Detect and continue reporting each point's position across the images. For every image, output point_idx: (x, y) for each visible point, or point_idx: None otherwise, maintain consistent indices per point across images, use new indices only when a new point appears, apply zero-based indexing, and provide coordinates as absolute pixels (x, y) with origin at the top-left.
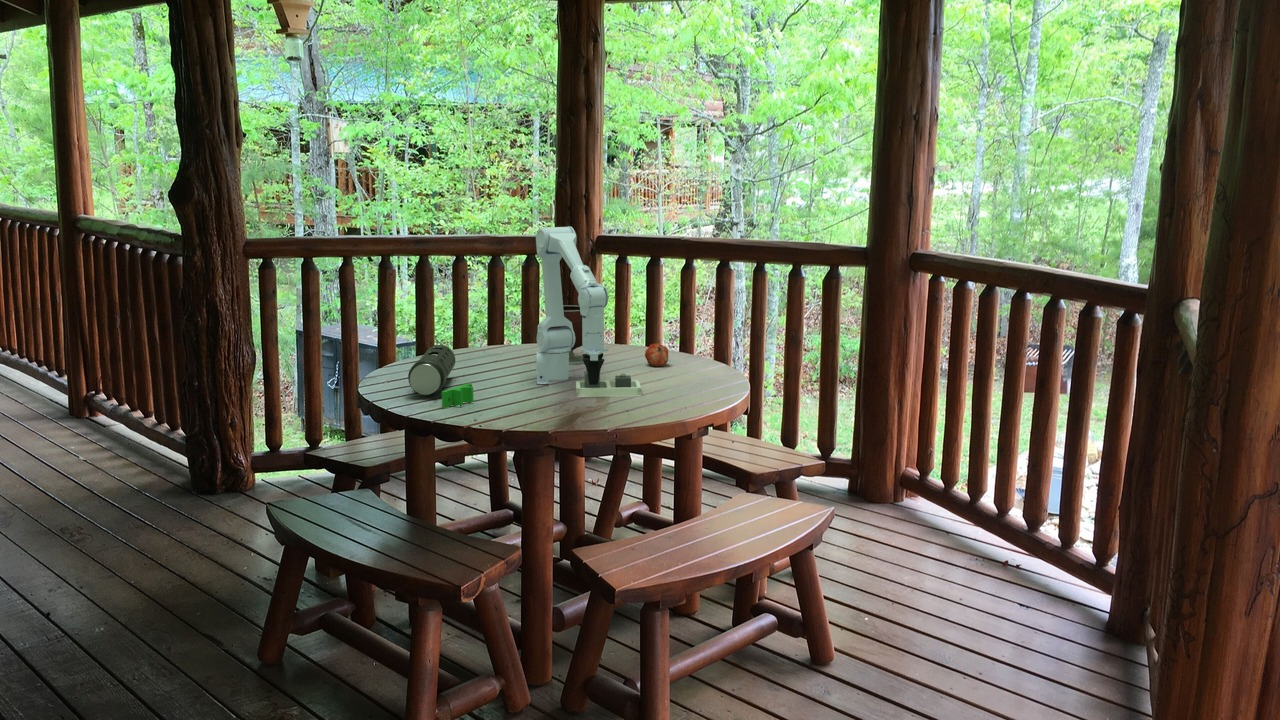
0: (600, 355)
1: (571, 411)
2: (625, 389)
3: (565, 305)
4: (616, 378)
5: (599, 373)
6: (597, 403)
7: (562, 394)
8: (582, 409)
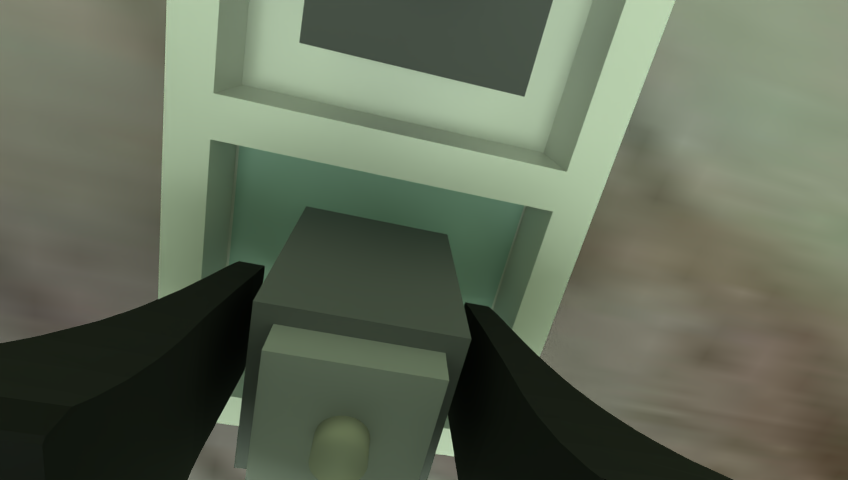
0: (65, 475)
1: (748, 463)
2: (667, 6)
3: None
4: (520, 88)
5: (558, 374)
6: (619, 278)
7: None
8: (736, 402)
